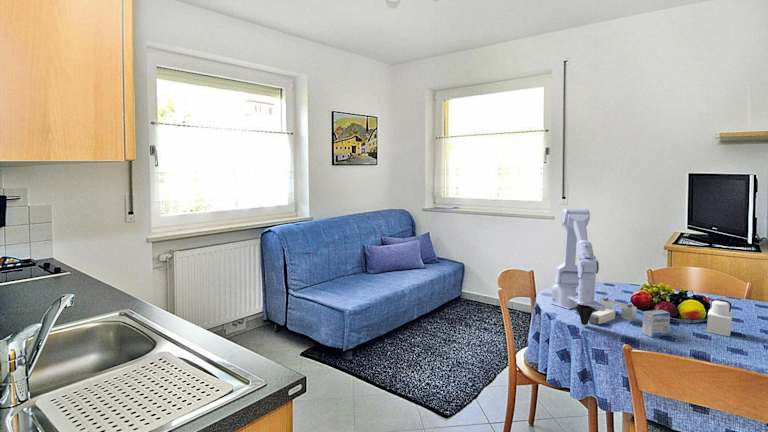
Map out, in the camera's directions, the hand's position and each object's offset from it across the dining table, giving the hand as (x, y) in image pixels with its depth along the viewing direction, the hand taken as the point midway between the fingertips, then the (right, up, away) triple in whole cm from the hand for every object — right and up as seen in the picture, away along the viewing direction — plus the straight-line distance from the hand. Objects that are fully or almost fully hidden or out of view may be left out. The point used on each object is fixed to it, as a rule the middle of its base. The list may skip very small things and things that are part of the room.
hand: (584, 324), depth 175 cm
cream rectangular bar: (+10, 0, +7) cm, 13 cm away
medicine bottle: (+48, -2, -5) cm, 48 cm away
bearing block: (+19, +1, +13) cm, 23 cm away
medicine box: (+23, -2, -7) cm, 24 cm away
